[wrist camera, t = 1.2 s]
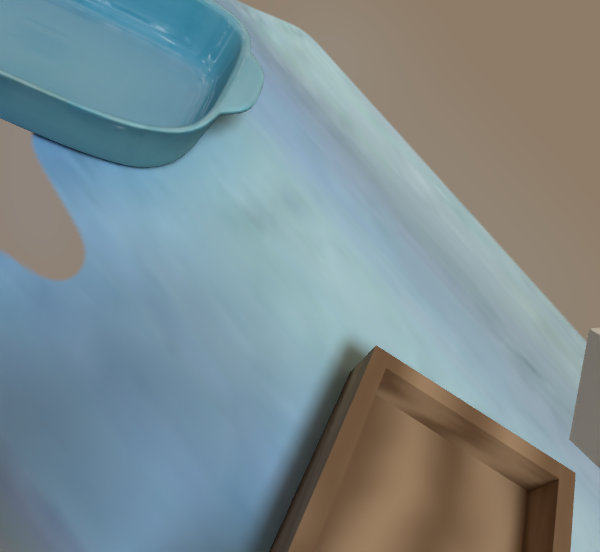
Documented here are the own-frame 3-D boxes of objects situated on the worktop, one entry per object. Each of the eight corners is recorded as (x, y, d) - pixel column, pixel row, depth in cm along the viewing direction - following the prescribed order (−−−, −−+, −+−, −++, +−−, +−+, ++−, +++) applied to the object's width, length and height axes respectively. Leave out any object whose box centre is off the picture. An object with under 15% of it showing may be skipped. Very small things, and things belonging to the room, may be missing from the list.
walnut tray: (242, 610, 29) (267, 598, 26) (350, 372, 41) (376, 345, 38) (501, 776, 29) (555, 782, 26) (535, 490, 41) (575, 473, 38)
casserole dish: (263, 87, 59) (287, 25, 54) (204, 231, 44) (229, 165, 39) (-104, -81, 52) (-117, -170, 47) (-318, 22, 38) (-371, -91, 32)
